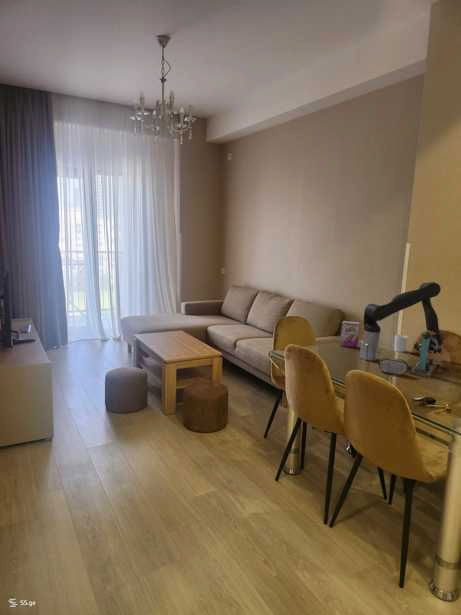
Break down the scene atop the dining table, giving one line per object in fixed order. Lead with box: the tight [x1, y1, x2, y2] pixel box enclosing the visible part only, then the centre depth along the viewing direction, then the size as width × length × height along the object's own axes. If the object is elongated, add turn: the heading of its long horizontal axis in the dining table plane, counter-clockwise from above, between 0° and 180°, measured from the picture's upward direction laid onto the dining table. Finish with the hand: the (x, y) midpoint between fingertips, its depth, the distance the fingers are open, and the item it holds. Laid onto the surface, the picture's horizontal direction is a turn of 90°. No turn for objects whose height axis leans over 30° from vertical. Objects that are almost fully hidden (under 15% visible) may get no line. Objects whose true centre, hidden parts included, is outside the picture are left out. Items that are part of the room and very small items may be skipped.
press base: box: [409, 356, 439, 379], centre depth 245 cm, size 32×10×5 cm, turn 148°
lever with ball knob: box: [415, 331, 432, 374], centre depth 236 cm, size 12×6×22 cm, turn 148°
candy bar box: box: [339, 320, 361, 349], centre depth 285 cm, size 11×5×16 cm, turn 77°
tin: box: [378, 357, 409, 376], centre depth 232 cm, size 15×3×8 cm, turn 71°
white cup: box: [393, 334, 409, 353], centre depth 282 cm, size 8×8×10 cm
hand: (426, 350), depth 239 cm, fingers open, 8 cm apart
